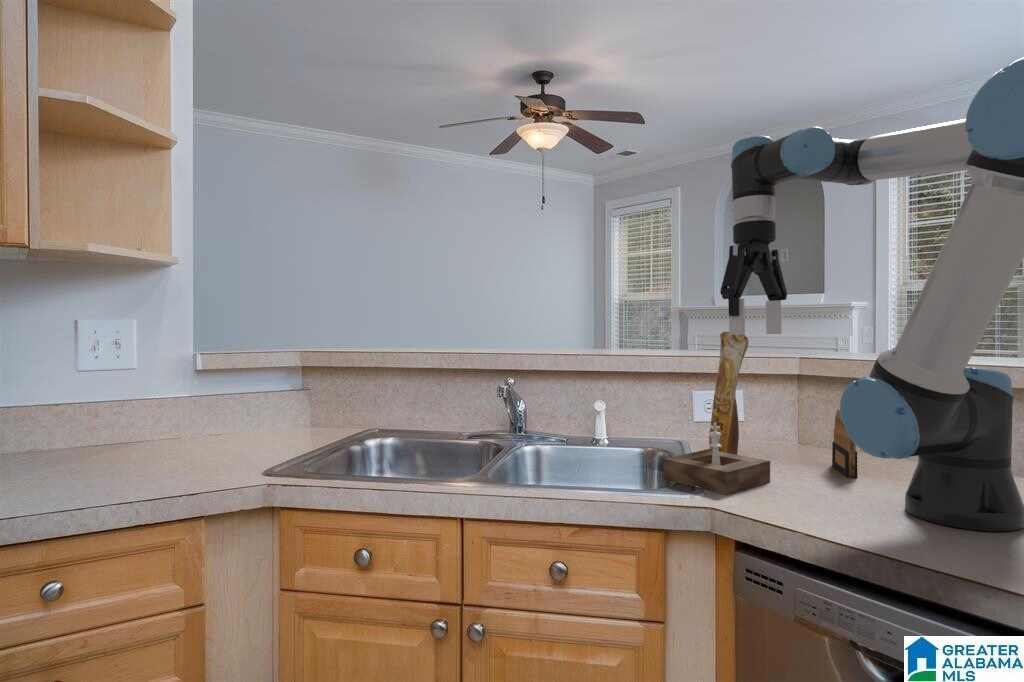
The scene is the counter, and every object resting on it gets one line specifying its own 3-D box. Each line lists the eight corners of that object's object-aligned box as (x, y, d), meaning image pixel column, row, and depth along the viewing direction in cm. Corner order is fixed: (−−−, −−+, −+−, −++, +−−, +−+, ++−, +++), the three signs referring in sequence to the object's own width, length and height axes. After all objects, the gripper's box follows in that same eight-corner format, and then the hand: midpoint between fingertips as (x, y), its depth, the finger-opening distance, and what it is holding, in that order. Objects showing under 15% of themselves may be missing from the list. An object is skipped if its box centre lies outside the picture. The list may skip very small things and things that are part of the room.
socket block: (770, 481, 119) (770, 460, 119) (727, 494, 110) (727, 472, 110) (706, 468, 130) (706, 449, 130) (663, 479, 121) (663, 458, 121)
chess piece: (730, 478, 117) (728, 425, 117) (702, 477, 119) (701, 424, 118) (729, 472, 122) (728, 421, 122) (703, 471, 123) (702, 420, 123)
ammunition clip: (831, 465, 132) (832, 408, 132) (841, 465, 132) (841, 408, 131) (847, 477, 122) (847, 416, 121) (857, 478, 121) (858, 416, 121)
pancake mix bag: (734, 446, 153) (734, 331, 152) (749, 463, 134) (749, 332, 134) (705, 445, 154) (705, 331, 154) (717, 462, 136) (717, 332, 135)
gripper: (768, 231, 130) (770, 334, 130) (698, 218, 114) (701, 335, 114) (804, 225, 124) (806, 333, 124) (737, 211, 108) (739, 334, 108)
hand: (756, 334), depth 119 cm, fingers open, 13 cm apart
